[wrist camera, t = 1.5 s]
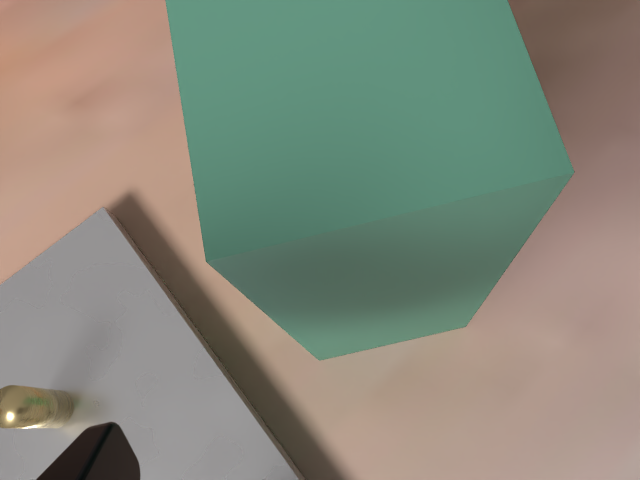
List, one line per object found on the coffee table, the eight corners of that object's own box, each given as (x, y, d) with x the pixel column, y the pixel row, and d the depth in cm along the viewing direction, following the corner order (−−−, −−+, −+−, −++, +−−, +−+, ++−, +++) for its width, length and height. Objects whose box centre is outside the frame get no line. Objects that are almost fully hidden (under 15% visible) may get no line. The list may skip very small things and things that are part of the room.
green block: (465, 326, 20) (573, 172, 8) (319, 360, 20) (205, 262, 8) (425, 191, 21) (464, -110, 9) (290, 223, 21) (161, -29, 10)
